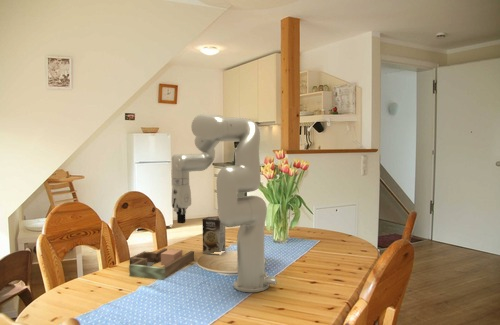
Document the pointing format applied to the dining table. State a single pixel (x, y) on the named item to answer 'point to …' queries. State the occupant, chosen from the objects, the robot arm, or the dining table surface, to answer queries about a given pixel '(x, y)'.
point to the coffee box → (213, 235)
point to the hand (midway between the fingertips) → (181, 222)
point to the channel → (140, 262)
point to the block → (170, 256)
